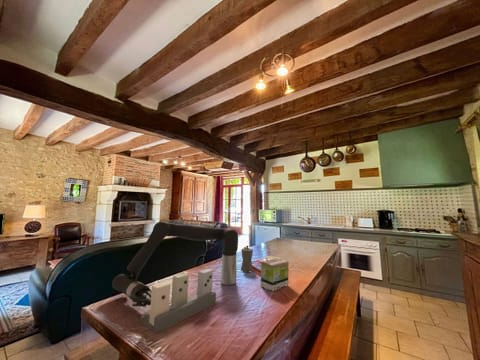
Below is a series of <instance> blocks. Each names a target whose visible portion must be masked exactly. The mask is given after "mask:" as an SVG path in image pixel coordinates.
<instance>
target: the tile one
mask: <svg viewBox="0 0 480 360" xmlns="http://www.w3.org/2000/svg"><path fill="white" fill-rule="evenodd" d="M171 286H172V285H171V283H170V282H168V281H162V282H159V283H156V284H153V285H151V291H152V292H151V305H150V308H149V314H150V319H149V323H151V324H152V325H153V326H154V318H155V317H156V316H159V315H161V314H163V313H166V312H168V311H169V306H170V302H171V301H170V299H171Z"/></svg>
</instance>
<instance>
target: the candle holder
mask: <svg viewBox="0 0 480 360" xmlns="http://www.w3.org/2000/svg"><path fill="white" fill-rule="evenodd" d="M276 258H277V259H281V258H280V256H279V257H278V256H276V255H267V256H266V257H265V261H267V260H272V259H276Z"/></svg>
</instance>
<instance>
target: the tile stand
mask: <svg viewBox="0 0 480 360" xmlns="http://www.w3.org/2000/svg"><path fill="white" fill-rule="evenodd" d="M216 301H217V292H215V291H212V292H211V293H209V294H207V295H204V296H202V297H200V298H197V293H196V294H194V295H191V296H190V297H189V296H188V299H187V303H186V304H184V305H182V306H179V307H177V308H175V309H172V308H171V304H169V311H168V312H166V313H163V314H161V315H159V316H156V317H155V318H154V326H153V325H152V324H151V323H149V319H150V313H149V314H146V315H144V316H142V317H140V318H139V321H141V323H143V324H144V325H145V326H146V327H147V328H149V329H150V330H151V331H152V330H153V331H152V332H153V333H155V334H159V333H161V332H162V331H164V330H167V329H168V328H170V327H172V326H174V325H177V324H178V323H180V322H182V321H184V320H186V319H188V318H191V317H192V316H193V315H196V314H198V313H199V312H201V311H203V310H206V309H207V308H210V307H211V306H213V305H215V304H216V303H217V302H216ZM181 320H182V321H181ZM179 321H180V322H179ZM177 322H178V323H177Z"/></svg>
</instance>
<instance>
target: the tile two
mask: <svg viewBox="0 0 480 360" xmlns="http://www.w3.org/2000/svg"><path fill="white" fill-rule="evenodd" d="M189 275H190V274H188V273H186V272H182V273H181V272H180V273H177V274H174V275H172V285H171V297H170V299H171V301H170V305H171V308H172V309H175V308H177V307H179V306H182V305H184V304H186V303H187V299H188V298H189V296H188V295H189V294H188V293H189V277H190V276H189Z"/></svg>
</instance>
